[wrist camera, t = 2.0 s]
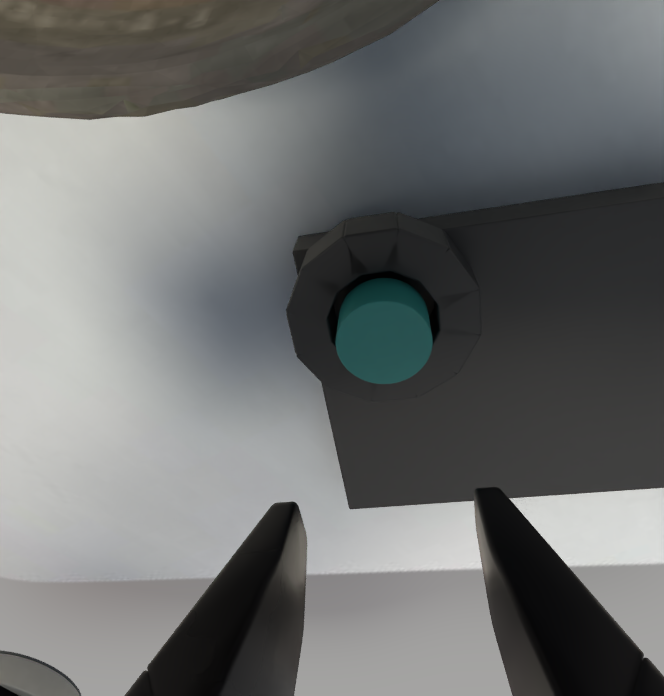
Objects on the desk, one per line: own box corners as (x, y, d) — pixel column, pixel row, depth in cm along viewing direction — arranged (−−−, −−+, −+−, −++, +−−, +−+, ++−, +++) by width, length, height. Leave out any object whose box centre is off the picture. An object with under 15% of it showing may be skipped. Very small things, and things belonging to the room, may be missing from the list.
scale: (345, 484, 23) (340, 542, 20) (285, 214, 17) (269, 246, 15) (710, 457, 21) (757, 517, 18) (781, 137, 15) (865, 159, 12)
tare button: (346, 360, 17) (343, 389, 15) (332, 283, 15) (327, 307, 14) (431, 351, 16) (436, 379, 15) (424, 271, 15) (428, 294, 14)
